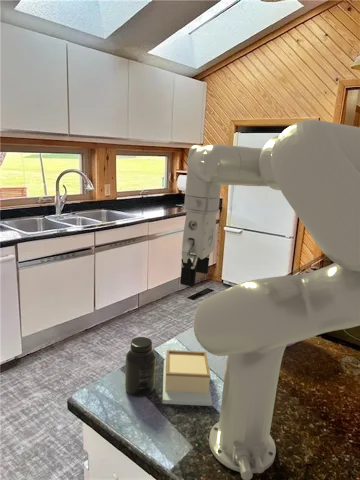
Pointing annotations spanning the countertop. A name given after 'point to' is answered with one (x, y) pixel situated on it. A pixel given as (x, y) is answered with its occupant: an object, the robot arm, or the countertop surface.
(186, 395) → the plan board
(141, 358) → the supplement bottle
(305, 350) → the countertop surface
